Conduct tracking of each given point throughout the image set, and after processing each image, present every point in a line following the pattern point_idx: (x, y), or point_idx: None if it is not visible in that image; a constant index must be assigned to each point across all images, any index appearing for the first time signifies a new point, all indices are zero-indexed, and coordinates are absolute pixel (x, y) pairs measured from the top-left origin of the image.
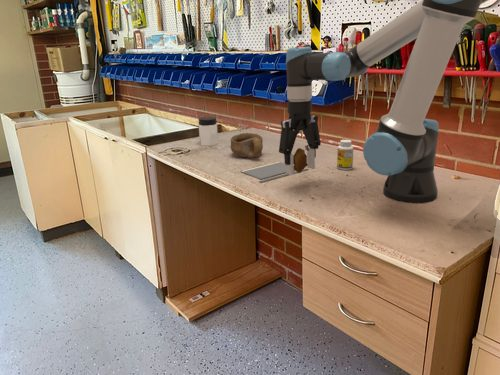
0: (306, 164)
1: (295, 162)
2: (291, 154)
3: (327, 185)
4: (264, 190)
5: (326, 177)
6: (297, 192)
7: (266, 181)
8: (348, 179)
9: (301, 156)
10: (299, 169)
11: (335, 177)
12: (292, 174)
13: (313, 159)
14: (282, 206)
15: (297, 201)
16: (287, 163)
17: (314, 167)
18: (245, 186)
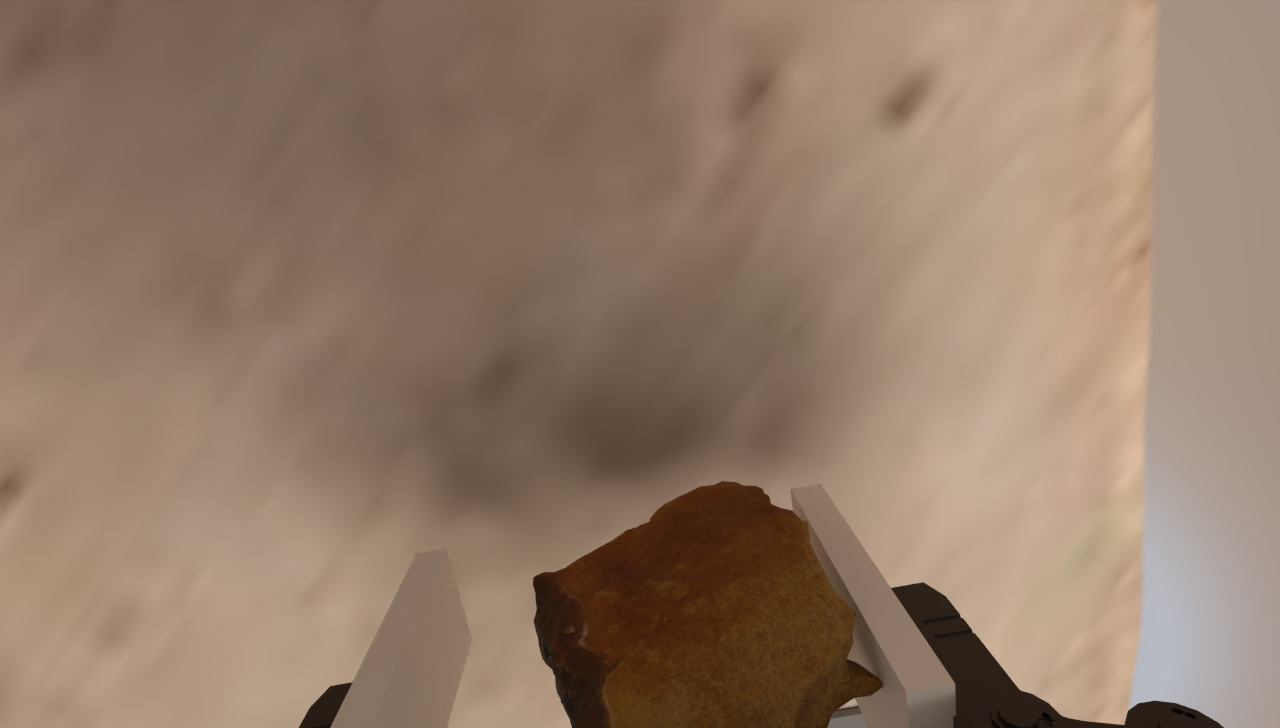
0: (557, 584)
1: (821, 572)
2: (926, 714)
3: (385, 336)
4: (994, 527)
5: (255, 542)
6: (778, 323)
7: (835, 711)
8: (62, 375)
9: (701, 642)
10: (729, 499)
11: (164, 497)
12: (814, 488)
13: (398, 640)
14: (1147, 64)
15: (941, 101)
16: (946, 598)
17: (416, 563)
18: (1058, 690)
